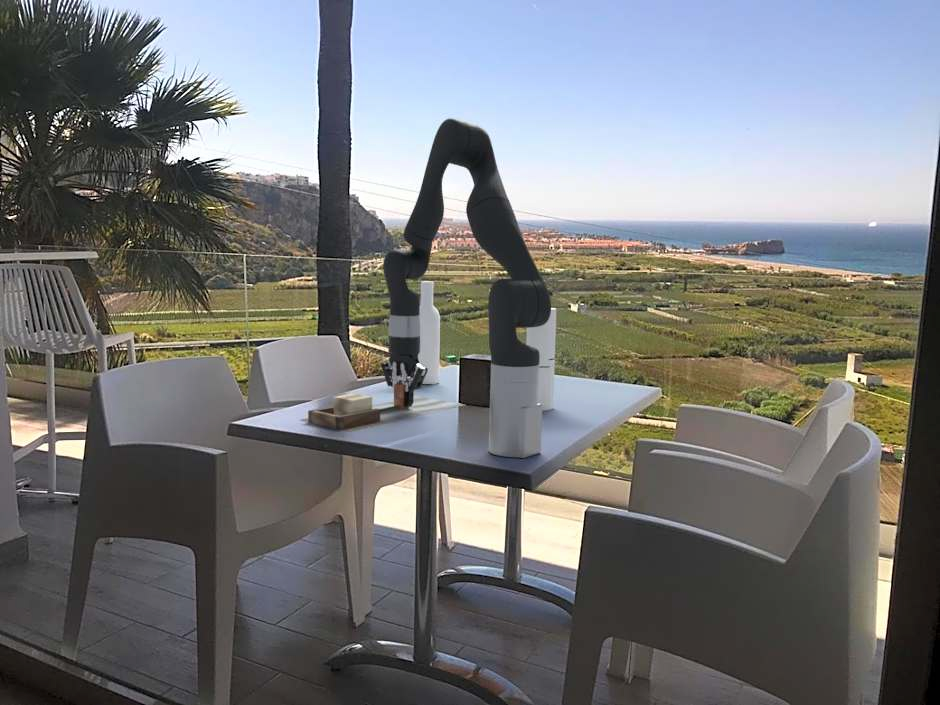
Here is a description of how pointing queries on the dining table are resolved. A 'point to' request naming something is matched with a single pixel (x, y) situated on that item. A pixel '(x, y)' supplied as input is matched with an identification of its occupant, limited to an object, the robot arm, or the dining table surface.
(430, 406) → the lane rack
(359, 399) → the rod-linked blocks
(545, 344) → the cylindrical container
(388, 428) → the dining table surface
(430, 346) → the bottle
